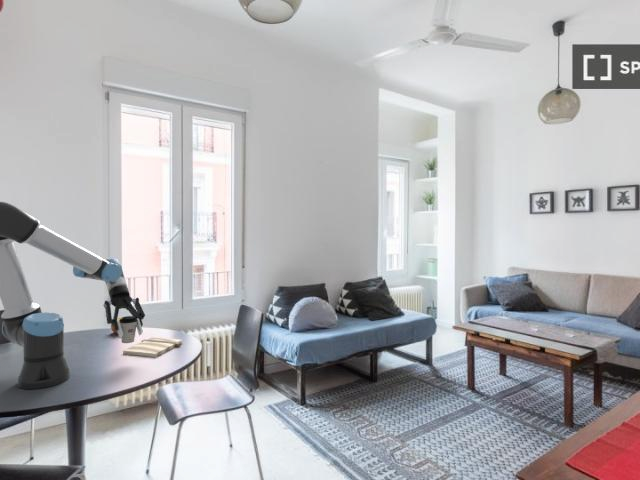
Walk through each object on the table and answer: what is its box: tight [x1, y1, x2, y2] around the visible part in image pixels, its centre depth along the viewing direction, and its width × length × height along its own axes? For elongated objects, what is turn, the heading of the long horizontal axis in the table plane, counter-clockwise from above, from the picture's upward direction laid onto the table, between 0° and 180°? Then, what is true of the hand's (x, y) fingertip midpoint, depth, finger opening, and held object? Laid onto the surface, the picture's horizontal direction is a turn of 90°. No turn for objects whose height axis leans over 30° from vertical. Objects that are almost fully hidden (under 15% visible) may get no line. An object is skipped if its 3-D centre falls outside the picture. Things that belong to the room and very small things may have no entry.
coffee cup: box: [119, 315, 138, 344], centre depth 157 cm, size 7×7×10 cm
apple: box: [110, 317, 122, 335], centre depth 197 cm, size 10×10×8 cm
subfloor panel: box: [122, 336, 183, 358], centre depth 174 cm, size 20×19×2 cm
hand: (131, 334), depth 155 cm, fingers closed on coffee cup, 7 cm apart
